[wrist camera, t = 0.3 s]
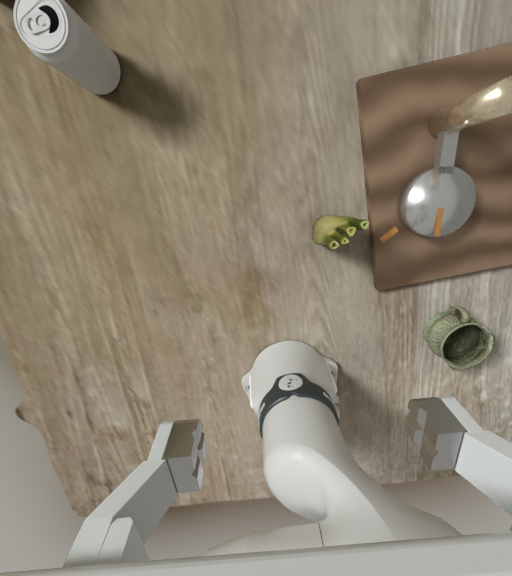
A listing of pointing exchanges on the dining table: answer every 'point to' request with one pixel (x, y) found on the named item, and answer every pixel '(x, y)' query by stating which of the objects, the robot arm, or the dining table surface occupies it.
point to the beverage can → (67, 43)
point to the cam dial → (450, 166)
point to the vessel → (458, 338)
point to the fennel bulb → (336, 230)
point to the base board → (420, 156)
